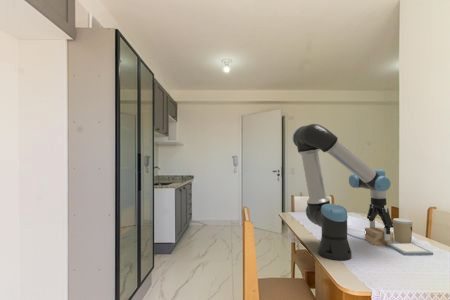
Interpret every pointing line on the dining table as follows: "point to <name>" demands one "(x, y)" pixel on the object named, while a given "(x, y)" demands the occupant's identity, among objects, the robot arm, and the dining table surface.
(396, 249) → the grey flat square slab
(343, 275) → the dining table surface
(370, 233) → the oak block
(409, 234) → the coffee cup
